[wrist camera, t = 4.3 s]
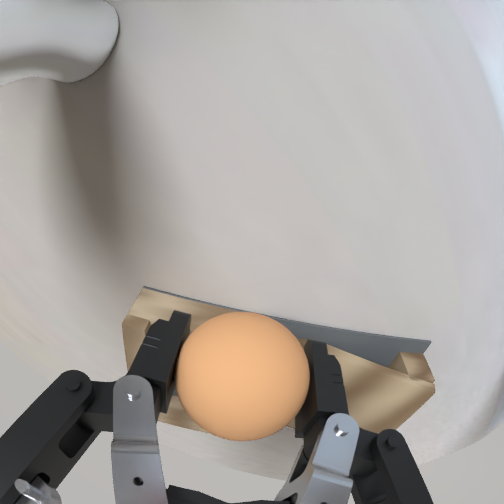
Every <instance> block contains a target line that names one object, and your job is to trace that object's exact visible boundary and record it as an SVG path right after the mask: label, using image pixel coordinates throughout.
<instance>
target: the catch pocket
mask: <svg viewBox="0 0 504 504" xmlns="http://www.w3.org/2000/svg"><path fill="white" fill-rule="evenodd" d="M174 310H177V311H181V312H184V313H188V314H191V324H190V333H189V335H190V334H191V333H192V332H193V331H194V330H195V329H196V328H197V327H199V326H200V325H201V324H203V323H204V322H206V321H208V320H209V319H211V318H214V317H216V316H219V315H222V314H226V313H231V312H239V311H234V310H230V309H225V308H221V307H217V306H212V305H208V304H204V303H200V302H196V301H191V300H187V299H183V298H179V297H175V296H172V295H168V294H164V293H160V292H156V291H153V290H149V289H145V288H143V289H142V290H141V292H140V294H139V295H138V297H137V299H136V300H135V302H134V304H133V305H132V307H131V309H130V310H129V312H128V314H127V316H126V317H125V319H124V321H123V322H122V330H123V339H124V347H125V355H126V362H127V369H128V371H129V369H130V367H131V365H132V363H133V361H134V359H135V356H136V354H137V352H138V350H139V348H140V346H141V344H142V342H143V340H144V338H145V337H146V334H147V332H148V330H149V328H150V326H151V325H152V324H153V323H154V322H156V321H157V320H158V319H163V320H166V321H169V320H170V317H171V315H172V313H173V311H174ZM157 421H160V422H164V423H168V424H171V425H175V426H179V427H183V428H187V429H192V430H196V431H201V432H206V433H209V432H207V431H206V430H204V429H203V428H201V427H200V426H198V425H197V424H196V423H195V422H194V421H193V420H192V419H191V418H190V417H189V415H188V414H187V413H186V411H185V410H184V408H183V407H182V405H181V403H180V401H179V398H178V397H176V396H173V395H172V398H171V401H170V404H169V407H168V411H167V414H165V413H161V412H160V414H159V417H158V420H157Z"/></svg>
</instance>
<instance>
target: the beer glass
mask: <svg viewBox="0 0 504 504" xmlns="http://www.w3.org/2000/svg"><path fill="white" fill-rule="evenodd" d="M118 30H119V20H118V15H117V13H116V11H115V9H114V8H113V7H112V6H111V5H110V4H109V3H107V2H105V1H102V0H0V86H1V85H4V84H7V83H10V82H13V81H16V80H20V79H24V78H28V77H46V78H49V79H53V80H56V81H60V82H76V81H79V80H82V79H84V78H86V77H88V76H89V75H91V74H92V73H93V72H95V71H96V70H97V69H98V68H99V67H100V66H101V65H102V64H103V62H104V61H105V60H106V59H107V57H108V56H109V54H110V52H111V51H112V49H113V47H114V44H115V42H116V39H117V35H118Z"/></svg>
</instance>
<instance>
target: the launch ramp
mask: <svg viewBox="0 0 504 504" xmlns="http://www.w3.org/2000/svg"><path fill="white" fill-rule="evenodd" d="M297 339H298V341H299V343H300V344H301V346H302V348H304V346H305V344H306V342H307V340H306V339H300V338H297ZM327 350H328V354H329V355H335V357H336V359H337V360H338V362H339V363H340V365H341V371H342V377H343V382H344V383H343V385H344V387H345V393H346V399H347V405H348V411H349V415H350V416H351V417H352V418H354V419H355V421H356V422H357V424H358V426H359V427H360V428H362V429H365V430H368V431H371V432H374V433H377V434H379V433H380V432H381V431H383V430H385V429H394V430H396V429H397V428H398V427H399V426H400V425H402V424H403V423H404V422H405V421H406V420H407V419H408V418H409V417H411V416H412V415H413V414H414V413H415V412H416V411H417V410H418V409H419V408H420V407H421V406H422V405H423V404H424V403H425V402H426V401H427V400H428V399H429V398H430V397H431V396H432V395H433V394H434V393H435V384H433V382H434V381H435V379H434V377H433V375H432V372H431V370H430V368H429V366H428V363H427V361H426V359H425V357H424V354H422V353H409V352H399V353H398V355H397V356H396V357H395V359H394V360H393V361H392V363H391V364H390V365H389V366H388V368H387V367H385V366H382V365H379V364H376V363H374V362H371V361H369V360H366V359H363V358H361V357H358V356H356V355H353V354H351V353H348V352H345V351H343V350H340V349H338V348H335V347H333V346H331V345H328V344H327ZM286 426H289V427H291V428H294V429H295V418H294V419H293V420H292V421H291V422H290V423H289V424H288V425H286Z"/></svg>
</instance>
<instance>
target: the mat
mask: <svg viewBox="0 0 504 504" xmlns="http://www.w3.org/2000/svg"><path fill="white" fill-rule="evenodd" d="M143 288H145V289H149V290H153V291H156V292H160V293H164V294H168V295H172V296H175V297H179V298H183V299H187V300H191V301H196V302H200V303H204V304H208V305H212V306H217V307H221V308H225V309H230V310H234V311H239V312H247V311H243V310H238V309H234V308H229V307H225V306H220V305H216V304H212V303H207V302H203V301H199V300H195V299H191V298H187V297H183V296H179V295H175V294H171V293H167V292H163V291H159V290H156V289H152V288H148V287H143ZM261 315H262V314H261ZM265 316H267V315H265ZM267 317H270V318H272V319H274V320H276V321H277V322H279V323H280V324H282V325H284V326H285V327H286V328H287V329H288V330H290V332H291V333H292V334H293V335H294V336H295V337H296V338H300V339H306V340H309V339H310V340H316V341H322V342H326V344H328V345H331V346H333V347H335V348H338V349H340V350H343V351H345V352H348V353H351V354H353V355H356V356H358V357H361V358H363V359H366V360H369V361H371V362H374V363H376V364H379V365H382V366H385V367H387V368H388V366H389V365H390V364H391V363H392V361H393V360H394V359H395V357H396V356H397V355H398V353H399V352H409V353H422V354H423V353H424V352H425V350H426V349H427V348H428V347H429V345H430V344H431V341H427V340H418V339H409V338H401V337H393V336H385V335H378V334H371V333H364V332H357V331H350V330H344V329H338V328H332V327H326V326H320V325H314V324H309V323H303V322H298V321H292V320H287V319H282V318H277V317H272V316H267ZM172 395H173V396H176V397H178V395H177V392H176V388H174V391H173V394H172Z"/></svg>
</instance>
